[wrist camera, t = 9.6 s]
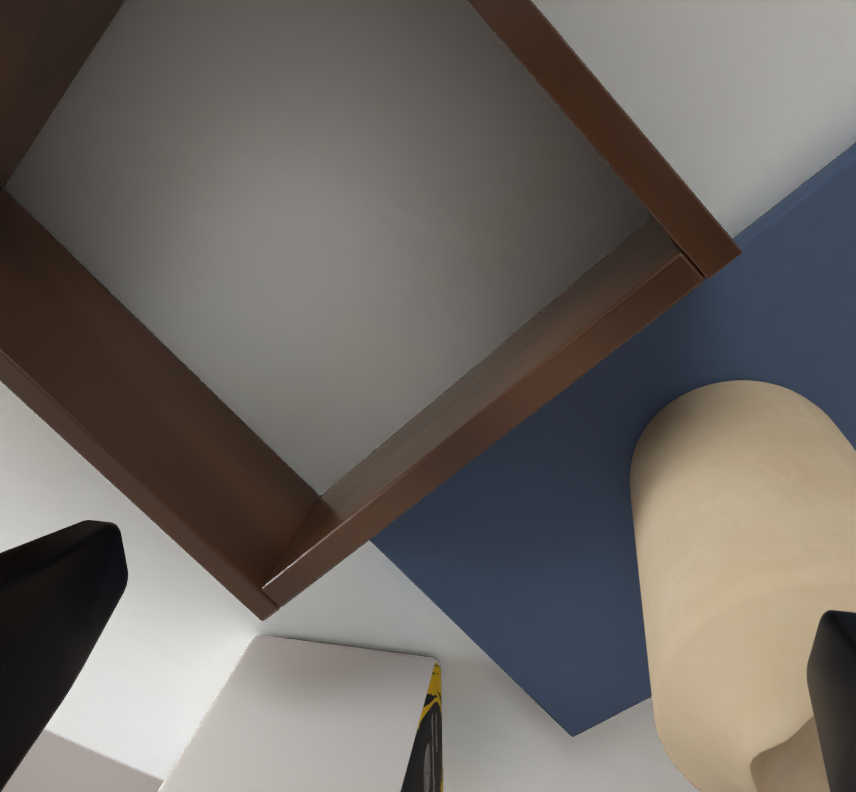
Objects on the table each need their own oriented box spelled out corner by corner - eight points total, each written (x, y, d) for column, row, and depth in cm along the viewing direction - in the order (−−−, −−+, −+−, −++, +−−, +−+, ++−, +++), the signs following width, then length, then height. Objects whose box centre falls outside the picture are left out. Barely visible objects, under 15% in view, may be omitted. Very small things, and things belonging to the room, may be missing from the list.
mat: (572, 715, 25) (572, 738, 24) (372, 520, 24) (364, 536, 23) (1225, 368, 17) (1261, 384, 16) (985, 39, 16) (1009, 36, 15)
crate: (322, 524, 24) (262, 623, 20) (-29, 186, 22) (-187, 210, 18) (705, 213, 18) (744, 252, 14) (273, -298, 16) (150, -451, 11)
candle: (593, 506, 21) (598, 823, 12) (692, 342, 18) (791, 583, 9) (770, 586, 21) (911, 969, 12) (892, 431, 18) (1187, 761, 9)
